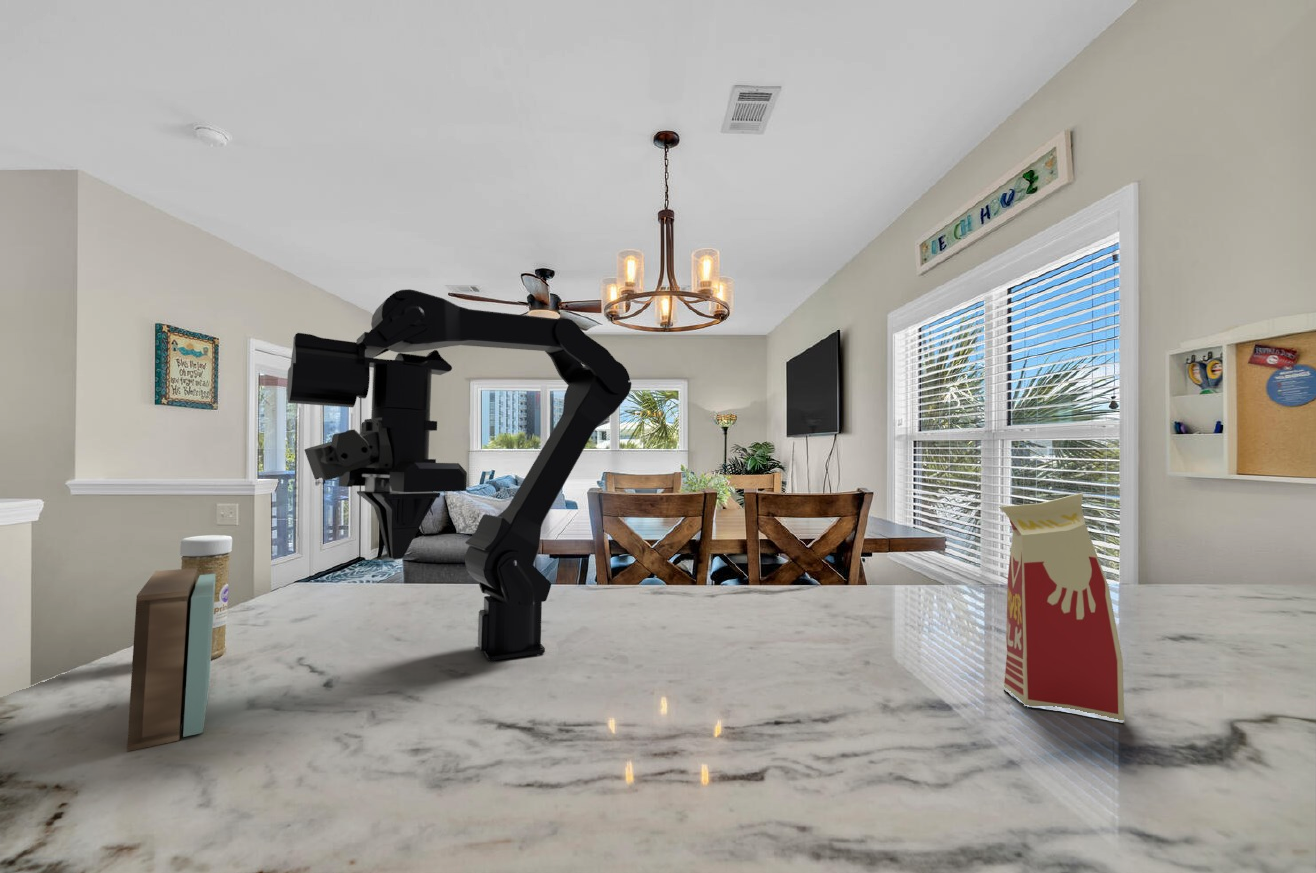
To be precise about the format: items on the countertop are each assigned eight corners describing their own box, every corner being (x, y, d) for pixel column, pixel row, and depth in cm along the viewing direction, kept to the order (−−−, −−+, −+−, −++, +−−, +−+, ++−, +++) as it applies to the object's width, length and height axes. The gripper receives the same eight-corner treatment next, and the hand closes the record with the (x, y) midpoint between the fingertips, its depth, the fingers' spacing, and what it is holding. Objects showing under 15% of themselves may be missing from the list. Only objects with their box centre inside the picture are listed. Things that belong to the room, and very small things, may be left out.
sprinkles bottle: (224, 659, 62) (230, 537, 63) (170, 667, 59) (177, 540, 60) (227, 648, 66) (234, 533, 67) (177, 654, 63) (184, 535, 64)
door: (209, 683, 55) (216, 571, 55) (202, 732, 45) (210, 596, 45) (193, 686, 54) (200, 573, 55) (183, 736, 44) (191, 598, 45)
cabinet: (189, 690, 53) (196, 568, 54) (178, 740, 44) (187, 590, 45) (147, 697, 52) (155, 571, 52) (126, 751, 42) (136, 595, 43)
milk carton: (1099, 688, 57) (1093, 492, 58) (1131, 726, 49) (1123, 495, 50) (995, 673, 61) (992, 489, 62) (1008, 706, 52) (1003, 492, 53)
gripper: (289, 410, 60) (282, 555, 59) (350, 396, 48) (342, 581, 47) (395, 417, 68) (390, 546, 68) (471, 408, 56) (466, 566, 55)
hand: (395, 558), depth 59 cm, fingers closed
